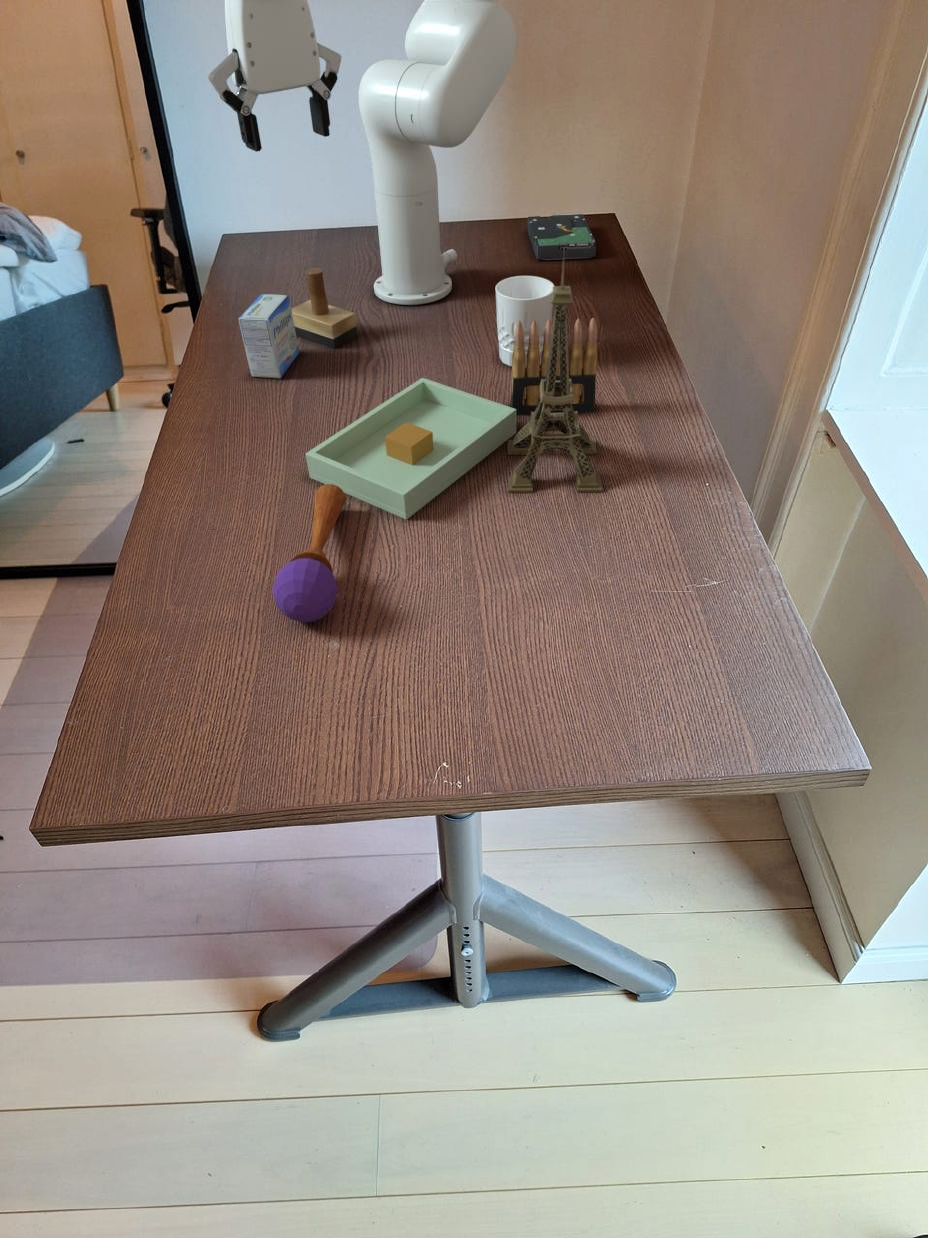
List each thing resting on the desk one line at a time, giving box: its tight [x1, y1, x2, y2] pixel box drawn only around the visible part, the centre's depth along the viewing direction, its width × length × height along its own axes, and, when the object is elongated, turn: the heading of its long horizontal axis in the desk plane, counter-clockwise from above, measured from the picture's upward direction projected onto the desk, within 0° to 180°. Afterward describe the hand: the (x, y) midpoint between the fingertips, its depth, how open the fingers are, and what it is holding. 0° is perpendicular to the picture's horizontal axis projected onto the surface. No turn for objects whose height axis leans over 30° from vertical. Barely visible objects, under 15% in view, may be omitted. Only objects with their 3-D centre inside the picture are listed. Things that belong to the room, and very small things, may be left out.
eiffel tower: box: [507, 247, 603, 494], centre depth 91 cm, size 11×11×25 cm
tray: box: [305, 377, 517, 520], centre depth 101 cm, size 22×15×3 cm
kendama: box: [272, 484, 347, 623], centre depth 86 cm, size 6×6×20 cm
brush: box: [291, 267, 358, 349], centre depth 124 cm, size 5×9×10 cm, turn 54°
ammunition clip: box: [509, 317, 598, 416], centre depth 105 cm, size 11×2×12 cm, turn 92°
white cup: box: [494, 275, 555, 369], centre depth 116 cm, size 8×8×10 cm
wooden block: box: [385, 422, 434, 465], centre depth 100 cm, size 4×4×2 cm
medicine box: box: [238, 293, 300, 379], centre depth 117 cm, size 8×4×9 cm, turn 168°
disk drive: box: [526, 213, 597, 261], centre depth 150 cm, size 10×3×15 cm
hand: (288, 141), depth 108 cm, fingers open, 9 cm apart
